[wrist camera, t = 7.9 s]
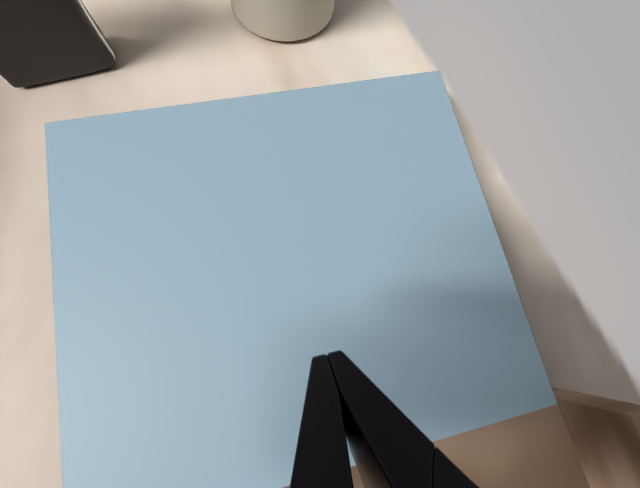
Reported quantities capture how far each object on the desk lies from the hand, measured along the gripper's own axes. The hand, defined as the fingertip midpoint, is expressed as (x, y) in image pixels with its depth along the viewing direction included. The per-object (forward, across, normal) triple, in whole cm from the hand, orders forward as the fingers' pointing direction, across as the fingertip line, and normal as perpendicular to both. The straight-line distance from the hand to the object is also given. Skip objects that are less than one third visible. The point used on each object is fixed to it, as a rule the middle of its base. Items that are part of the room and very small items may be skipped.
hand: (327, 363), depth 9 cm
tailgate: (+2, 0, +10) cm, 10 cm away
